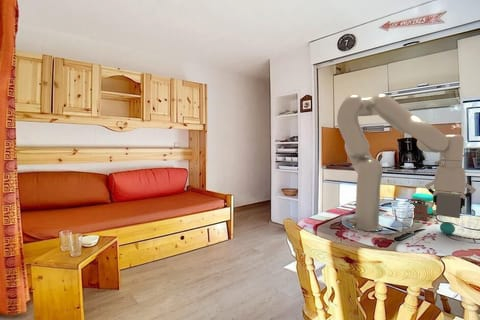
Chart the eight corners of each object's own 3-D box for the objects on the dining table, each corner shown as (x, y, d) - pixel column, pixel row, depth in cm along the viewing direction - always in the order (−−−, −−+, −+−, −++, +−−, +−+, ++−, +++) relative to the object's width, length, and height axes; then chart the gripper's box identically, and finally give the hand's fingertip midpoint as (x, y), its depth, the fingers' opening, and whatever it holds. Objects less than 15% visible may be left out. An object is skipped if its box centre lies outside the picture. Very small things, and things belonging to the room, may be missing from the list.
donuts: (414, 195, 143) (410, 192, 152) (413, 213, 143) (410, 209, 153) (436, 197, 139) (432, 193, 148) (435, 215, 139) (430, 211, 148)
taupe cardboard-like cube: (459, 218, 106) (460, 196, 105) (435, 215, 111) (436, 194, 110) (459, 214, 112) (461, 193, 111) (437, 211, 117) (438, 191, 116)
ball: (446, 226, 115) (445, 236, 113) (437, 220, 115) (436, 230, 113) (458, 225, 111) (457, 236, 109) (449, 219, 110) (447, 229, 108)
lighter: (427, 218, 134) (428, 199, 133) (427, 220, 131) (428, 200, 130) (408, 216, 138) (409, 197, 138) (408, 217, 136) (409, 198, 135)
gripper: (424, 164, 112) (422, 204, 114) (479, 166, 101) (476, 211, 102) (425, 162, 118) (424, 201, 119) (478, 164, 107) (475, 207, 108)
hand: (448, 205), depth 111 cm, fingers closed on taupe cardboard-like cube, 7 cm apart
